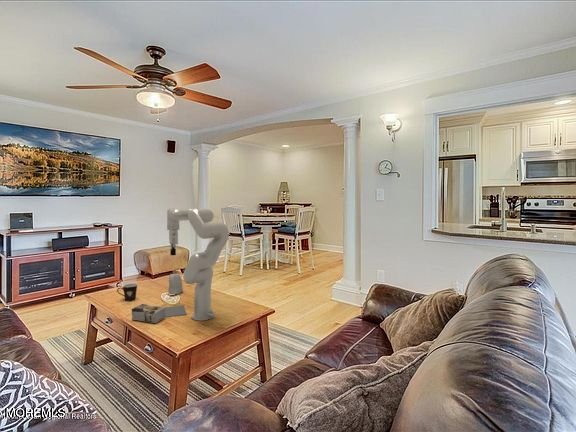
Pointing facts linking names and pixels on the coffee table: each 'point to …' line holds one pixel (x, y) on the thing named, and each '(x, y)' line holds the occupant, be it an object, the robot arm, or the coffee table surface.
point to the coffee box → (148, 313)
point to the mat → (175, 311)
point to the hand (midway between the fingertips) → (173, 255)
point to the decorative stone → (175, 284)
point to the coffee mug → (129, 291)
